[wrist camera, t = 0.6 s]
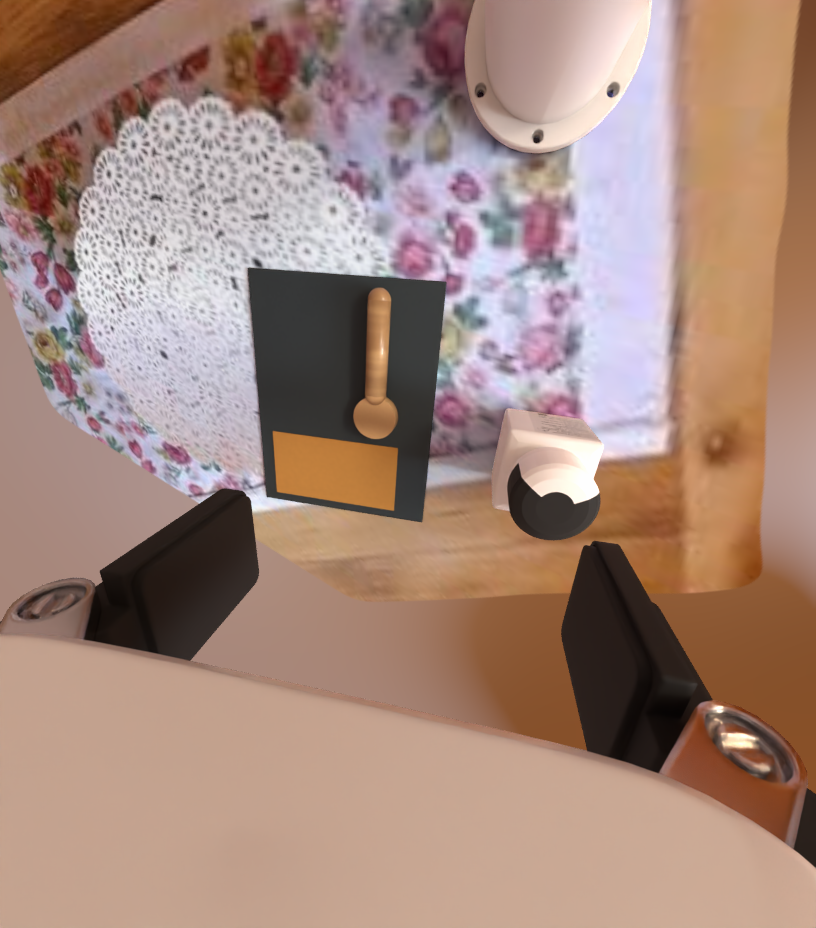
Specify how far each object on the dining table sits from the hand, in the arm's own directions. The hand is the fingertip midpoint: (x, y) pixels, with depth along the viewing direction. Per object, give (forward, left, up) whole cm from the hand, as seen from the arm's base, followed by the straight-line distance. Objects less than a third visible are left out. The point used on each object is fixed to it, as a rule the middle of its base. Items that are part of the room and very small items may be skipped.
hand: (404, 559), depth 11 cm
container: (+7, +8, -31) cm, 33 cm away
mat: (+5, -13, -31) cm, 34 cm away
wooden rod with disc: (+1, -9, -31) cm, 32 cm away
